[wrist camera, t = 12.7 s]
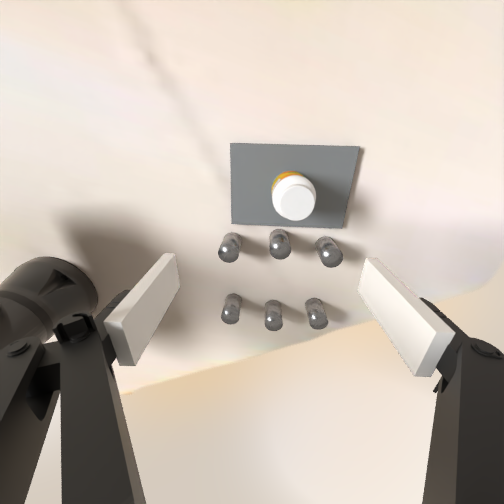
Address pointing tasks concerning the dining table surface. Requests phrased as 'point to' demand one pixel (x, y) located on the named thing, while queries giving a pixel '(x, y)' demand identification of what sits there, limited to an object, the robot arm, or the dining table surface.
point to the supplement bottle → (293, 195)
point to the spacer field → (278, 250)
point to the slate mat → (290, 159)
